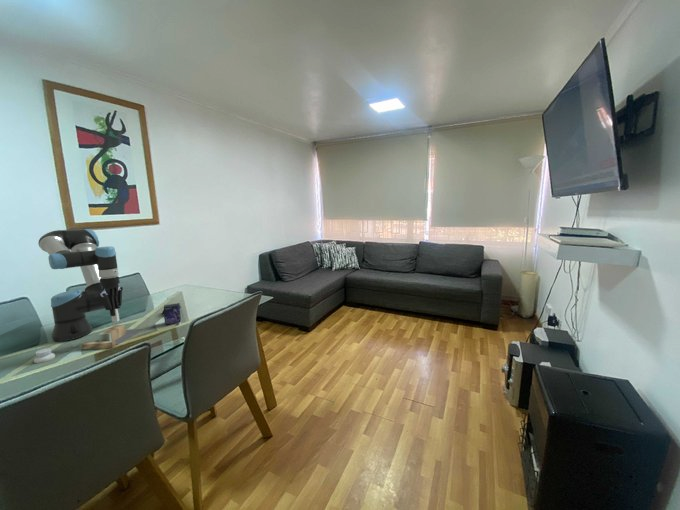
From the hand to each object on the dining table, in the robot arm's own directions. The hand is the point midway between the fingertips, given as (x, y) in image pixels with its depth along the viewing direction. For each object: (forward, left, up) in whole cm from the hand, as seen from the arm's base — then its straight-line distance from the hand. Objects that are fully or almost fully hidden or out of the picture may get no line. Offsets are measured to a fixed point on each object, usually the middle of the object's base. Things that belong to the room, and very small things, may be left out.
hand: (115, 321), depth 139 cm
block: (0, +2, -6) cm, 6 cm away
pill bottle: (-16, -21, -16) cm, 31 cm away
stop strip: (0, -12, -9) cm, 15 cm away
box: (+19, +17, -9) cm, 27 cm away
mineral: (+15, +27, -9) cm, 32 cm away
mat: (0, -1, -9) cm, 9 cm away
